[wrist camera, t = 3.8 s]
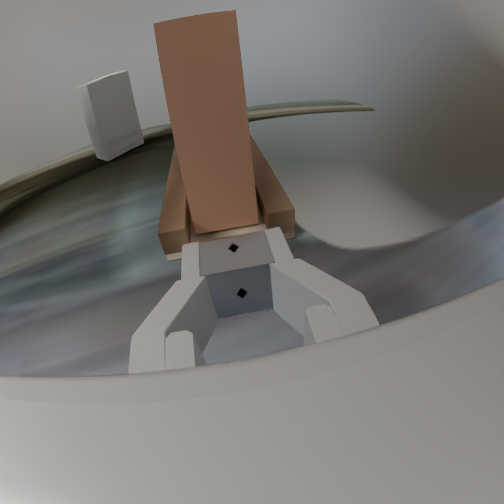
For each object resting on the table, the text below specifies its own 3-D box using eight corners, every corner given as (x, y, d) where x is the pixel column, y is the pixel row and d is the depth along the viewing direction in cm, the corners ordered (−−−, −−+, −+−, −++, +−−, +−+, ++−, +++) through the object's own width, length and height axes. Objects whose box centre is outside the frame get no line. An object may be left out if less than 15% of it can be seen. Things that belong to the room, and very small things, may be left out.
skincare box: (130, 142, 52) (115, 72, 43) (146, 144, 49) (129, 68, 39) (94, 159, 47) (75, 86, 38) (107, 163, 44) (85, 81, 35)
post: (195, 234, 23) (153, 23, 13) (195, 198, 28) (164, 31, 18) (258, 223, 23) (235, 10, 13) (246, 189, 28) (226, 20, 18)
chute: (167, 261, 22) (134, 156, 17) (180, 150, 43) (169, 97, 37) (294, 237, 23) (291, 129, 18) (244, 139, 43) (238, 85, 38)
